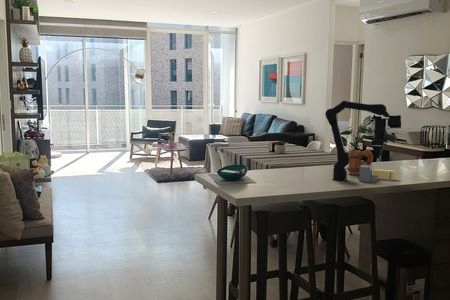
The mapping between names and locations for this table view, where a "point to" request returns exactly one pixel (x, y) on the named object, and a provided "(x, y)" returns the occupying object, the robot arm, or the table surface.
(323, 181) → the table surface
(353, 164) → the mug
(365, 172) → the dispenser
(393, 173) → the pale yellow flat block
